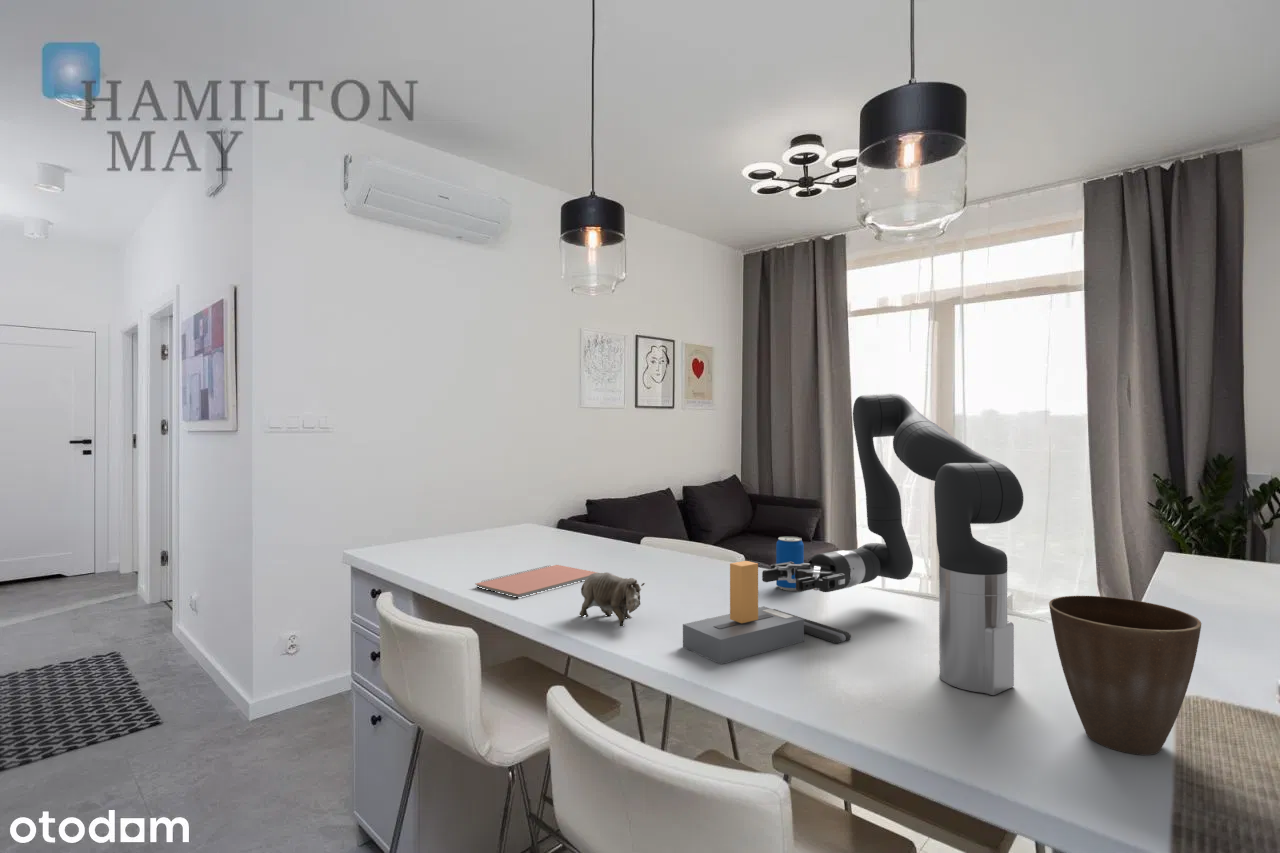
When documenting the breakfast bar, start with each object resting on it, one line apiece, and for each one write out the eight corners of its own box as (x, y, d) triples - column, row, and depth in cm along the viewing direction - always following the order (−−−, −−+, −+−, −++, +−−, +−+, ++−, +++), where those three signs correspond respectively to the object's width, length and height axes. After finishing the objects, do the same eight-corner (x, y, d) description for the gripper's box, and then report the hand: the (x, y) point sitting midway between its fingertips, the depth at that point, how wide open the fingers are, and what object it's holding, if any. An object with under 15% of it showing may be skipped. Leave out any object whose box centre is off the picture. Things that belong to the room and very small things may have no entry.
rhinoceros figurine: (594, 594, 138) (619, 544, 131) (634, 642, 130) (662, 591, 124) (567, 605, 132) (592, 553, 125) (607, 655, 125) (635, 603, 118)
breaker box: (803, 641, 115) (803, 618, 115) (720, 664, 103) (720, 639, 104) (763, 626, 123) (763, 605, 123) (682, 646, 112) (682, 623, 112)
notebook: (554, 570, 175) (554, 563, 175) (599, 579, 164) (599, 571, 164) (472, 590, 154) (472, 581, 154) (518, 601, 143) (518, 592, 143)
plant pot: (1180, 788, 68) (1179, 638, 68) (1028, 734, 80) (1028, 607, 80) (1218, 747, 76) (1217, 614, 77) (1076, 703, 89) (1076, 589, 89)
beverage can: (801, 585, 156) (801, 536, 156) (805, 592, 150) (805, 541, 150) (774, 584, 157) (774, 536, 157) (777, 591, 150) (777, 540, 150)
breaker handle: (758, 619, 113) (758, 563, 113) (741, 623, 111) (741, 566, 111) (746, 615, 116) (746, 560, 116) (730, 619, 113) (730, 563, 113)
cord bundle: (852, 640, 115) (852, 632, 115) (816, 651, 110) (816, 643, 110) (774, 614, 131) (774, 607, 131) (738, 622, 126) (738, 615, 126)
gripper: (809, 546, 133) (752, 554, 124) (866, 557, 122) (809, 567, 113) (809, 581, 133) (753, 592, 124) (866, 596, 122) (809, 610, 113)
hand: (780, 581), depth 118 cm, fingers open, 8 cm apart
